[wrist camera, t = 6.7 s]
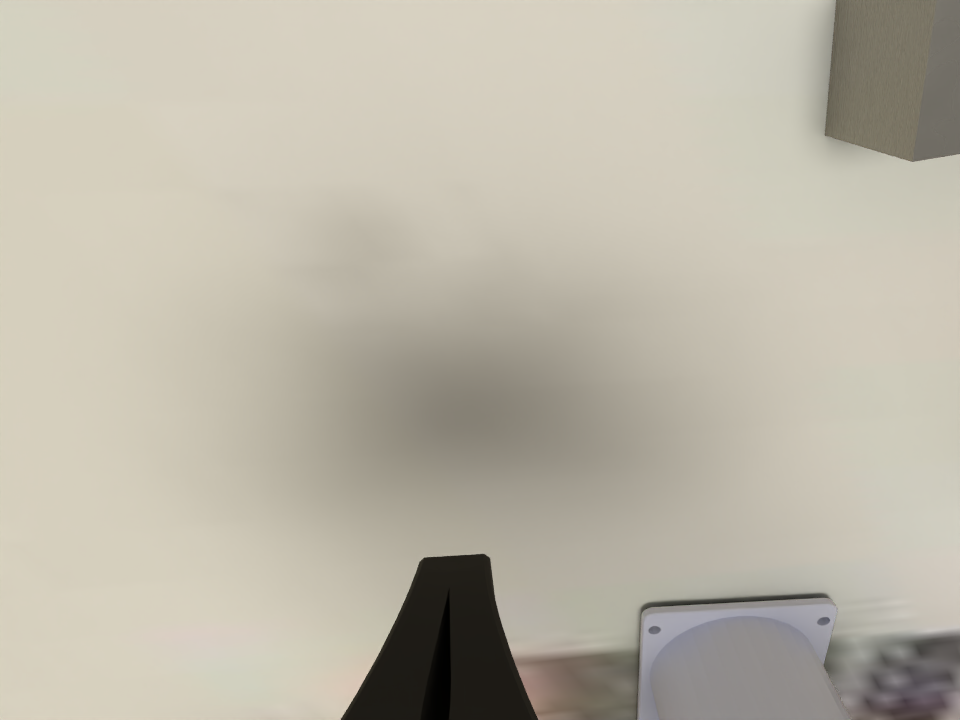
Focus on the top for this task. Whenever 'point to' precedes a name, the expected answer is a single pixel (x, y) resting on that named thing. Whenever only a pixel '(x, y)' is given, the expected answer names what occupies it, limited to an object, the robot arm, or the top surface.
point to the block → (896, 77)
